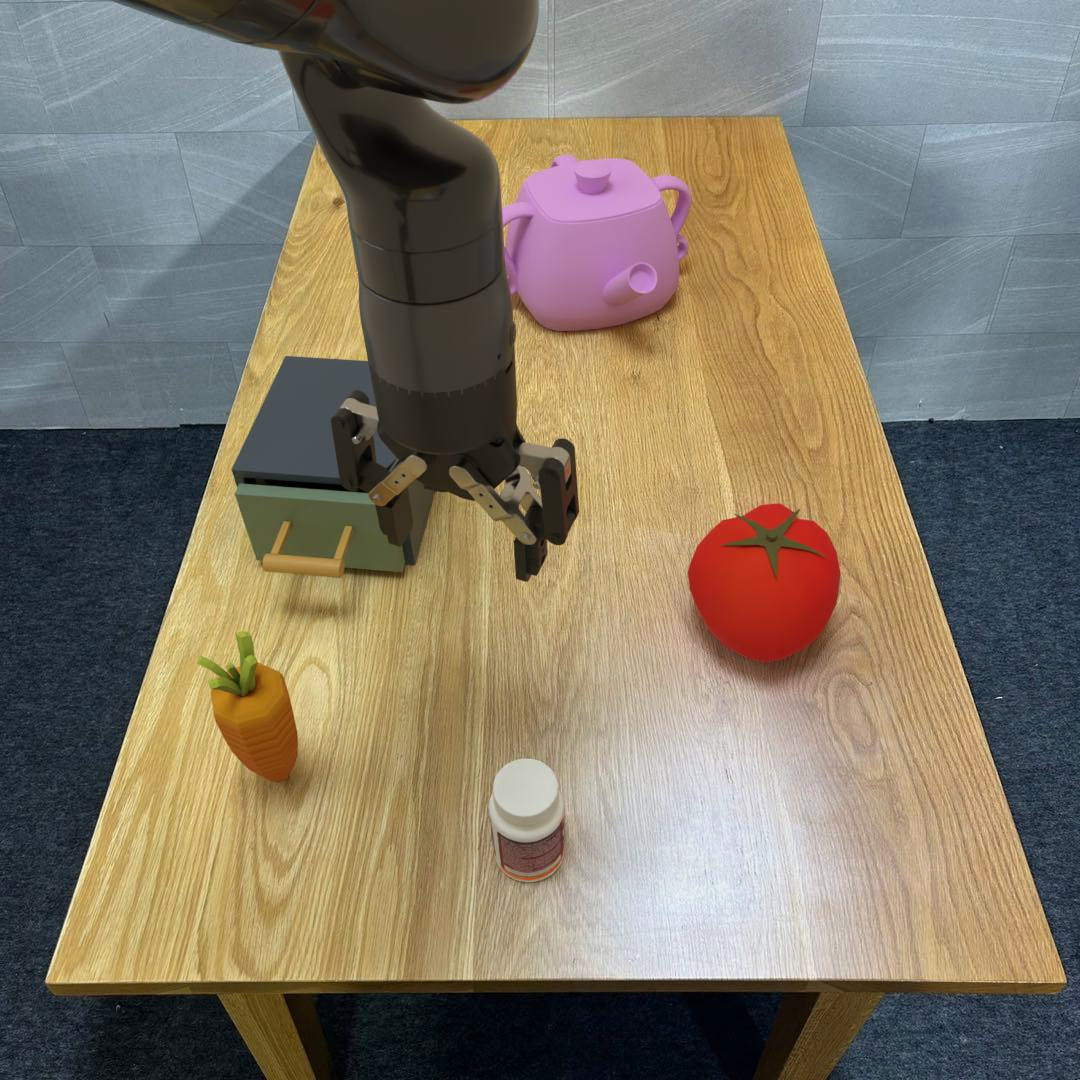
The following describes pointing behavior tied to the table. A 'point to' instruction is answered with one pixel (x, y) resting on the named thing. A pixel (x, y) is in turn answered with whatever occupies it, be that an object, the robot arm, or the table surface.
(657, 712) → the table surface
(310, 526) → the drawer
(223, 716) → the carrot
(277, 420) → the cabinet
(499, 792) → the pill bottle
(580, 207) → the teapot
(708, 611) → the tomato
